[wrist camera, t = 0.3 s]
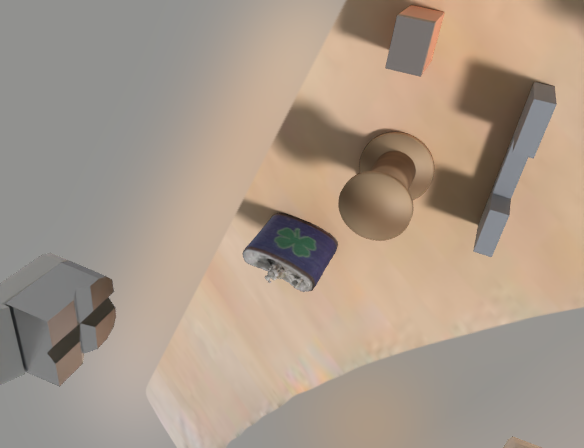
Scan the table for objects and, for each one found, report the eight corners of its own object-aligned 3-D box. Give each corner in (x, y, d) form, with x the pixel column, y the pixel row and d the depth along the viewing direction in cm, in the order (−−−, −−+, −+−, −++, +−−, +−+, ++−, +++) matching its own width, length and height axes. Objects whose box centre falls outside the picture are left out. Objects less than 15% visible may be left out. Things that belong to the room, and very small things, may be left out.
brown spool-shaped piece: (369, 123, 56) (341, 158, 48) (443, 143, 54) (427, 183, 46) (354, 187, 60) (327, 230, 52) (423, 208, 58) (405, 255, 50)
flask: (270, 223, 68) (232, 269, 59) (276, 205, 66) (237, 250, 57) (334, 255, 66) (305, 306, 58) (342, 237, 64) (313, 287, 56)
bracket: (534, 81, 48) (533, 98, 44) (554, 86, 47) (556, 104, 43) (478, 225, 57) (473, 251, 52) (495, 230, 56) (491, 257, 52)
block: (410, 5, 49) (397, 15, 44) (444, 12, 48) (434, 23, 43) (399, 53, 51) (385, 68, 46) (431, 60, 50) (420, 76, 46)
